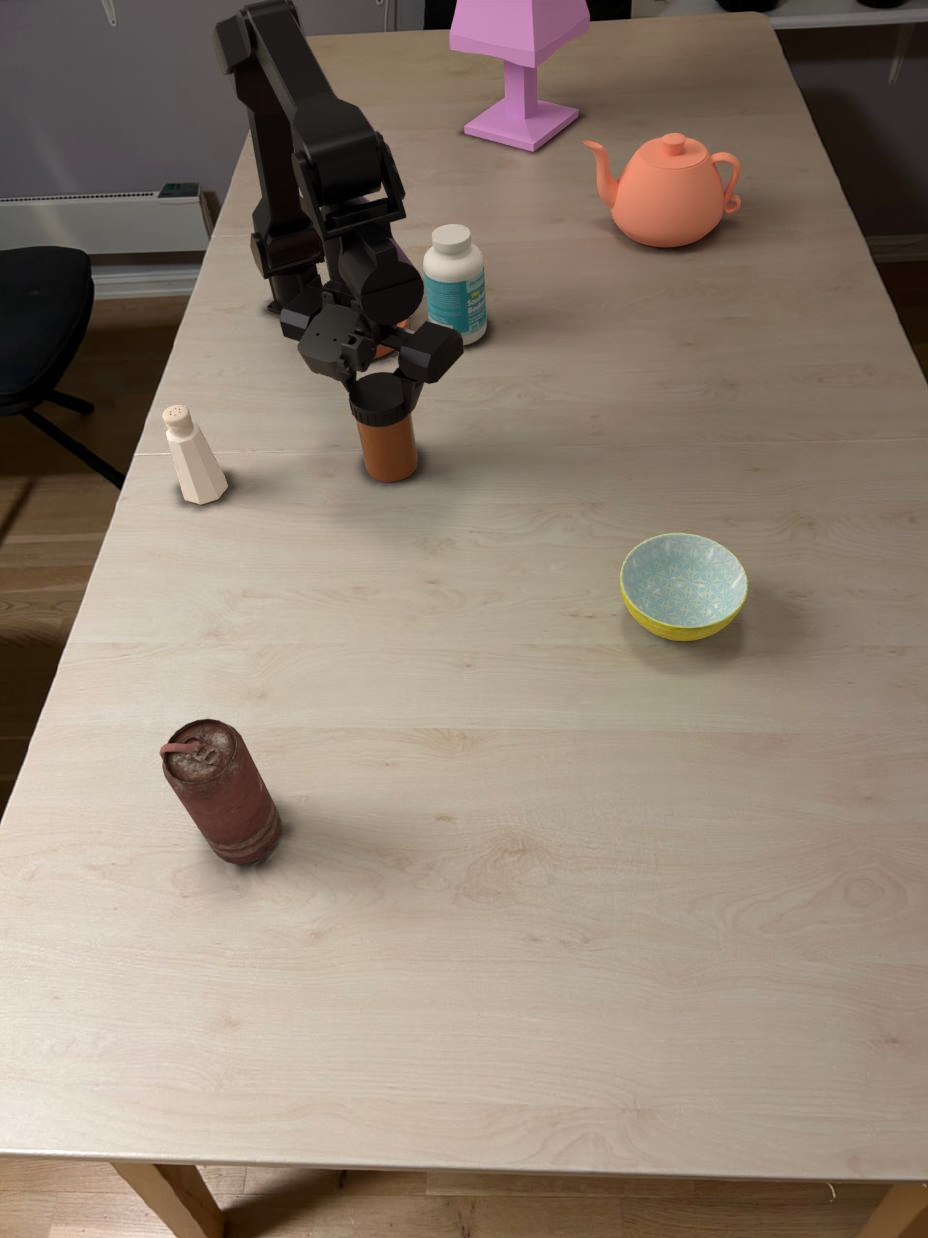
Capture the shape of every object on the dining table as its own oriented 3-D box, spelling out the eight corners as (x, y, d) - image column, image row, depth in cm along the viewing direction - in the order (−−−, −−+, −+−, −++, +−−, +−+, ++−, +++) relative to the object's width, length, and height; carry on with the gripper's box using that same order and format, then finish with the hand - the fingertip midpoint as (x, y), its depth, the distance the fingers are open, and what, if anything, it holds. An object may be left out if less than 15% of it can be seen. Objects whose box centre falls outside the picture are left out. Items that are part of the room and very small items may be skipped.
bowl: (708, 686, 85) (718, 646, 80) (595, 637, 89) (598, 596, 84) (755, 601, 91) (767, 559, 86) (646, 559, 95) (652, 516, 90)
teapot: (578, 255, 130) (580, 166, 120) (582, 197, 140) (585, 111, 130) (740, 255, 127) (756, 165, 118) (733, 197, 137) (748, 108, 127)
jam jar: (355, 472, 106) (340, 403, 98) (384, 440, 109) (372, 371, 101) (399, 488, 104) (388, 419, 96) (428, 455, 107) (419, 386, 99)
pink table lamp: (509, 96, 162) (502, -159, 135) (586, 115, 156) (595, -149, 128) (456, 134, 155) (437, -128, 127) (535, 155, 149) (533, -116, 121)
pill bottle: (481, 350, 118) (475, 252, 108) (424, 346, 120) (413, 249, 109) (492, 316, 123) (487, 218, 112) (437, 312, 124) (427, 215, 113)
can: (211, 804, 81) (159, 719, 70) (283, 796, 81) (243, 710, 70) (205, 870, 77) (149, 791, 66) (281, 862, 77) (238, 781, 66)
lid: (339, 416, 99) (335, 400, 98) (373, 380, 103) (371, 364, 101) (391, 434, 97) (388, 418, 95) (424, 397, 100) (422, 381, 99)
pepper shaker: (211, 465, 108) (182, 388, 100) (238, 487, 106) (211, 410, 97) (171, 489, 106) (139, 413, 97) (198, 512, 104) (167, 436, 95)
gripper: (226, 288, 86) (266, 420, 99) (394, 340, 80) (414, 475, 92) (298, 229, 92) (327, 360, 104) (461, 273, 85) (471, 408, 98)
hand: (381, 400), depth 99 cm, fingers open, 7 cm apart
